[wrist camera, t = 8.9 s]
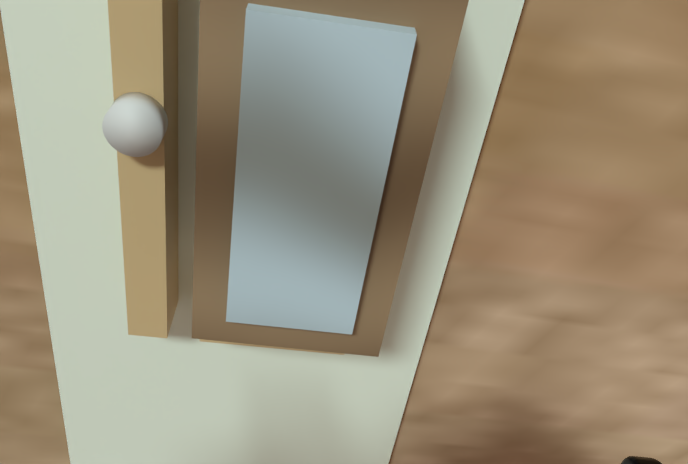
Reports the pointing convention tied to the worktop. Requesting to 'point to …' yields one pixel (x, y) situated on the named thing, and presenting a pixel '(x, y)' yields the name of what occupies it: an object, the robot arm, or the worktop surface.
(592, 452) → the worktop surface
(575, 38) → the worktop surface
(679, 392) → the worktop surface
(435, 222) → the wall board
